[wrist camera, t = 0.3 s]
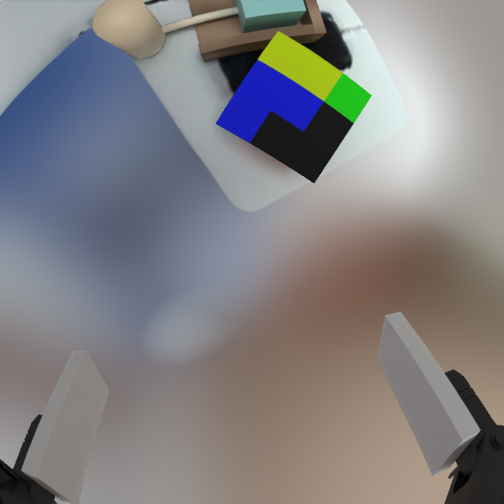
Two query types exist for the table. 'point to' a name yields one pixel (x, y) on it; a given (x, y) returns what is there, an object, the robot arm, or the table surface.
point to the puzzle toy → (294, 107)
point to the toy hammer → (183, 22)
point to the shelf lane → (235, 41)
